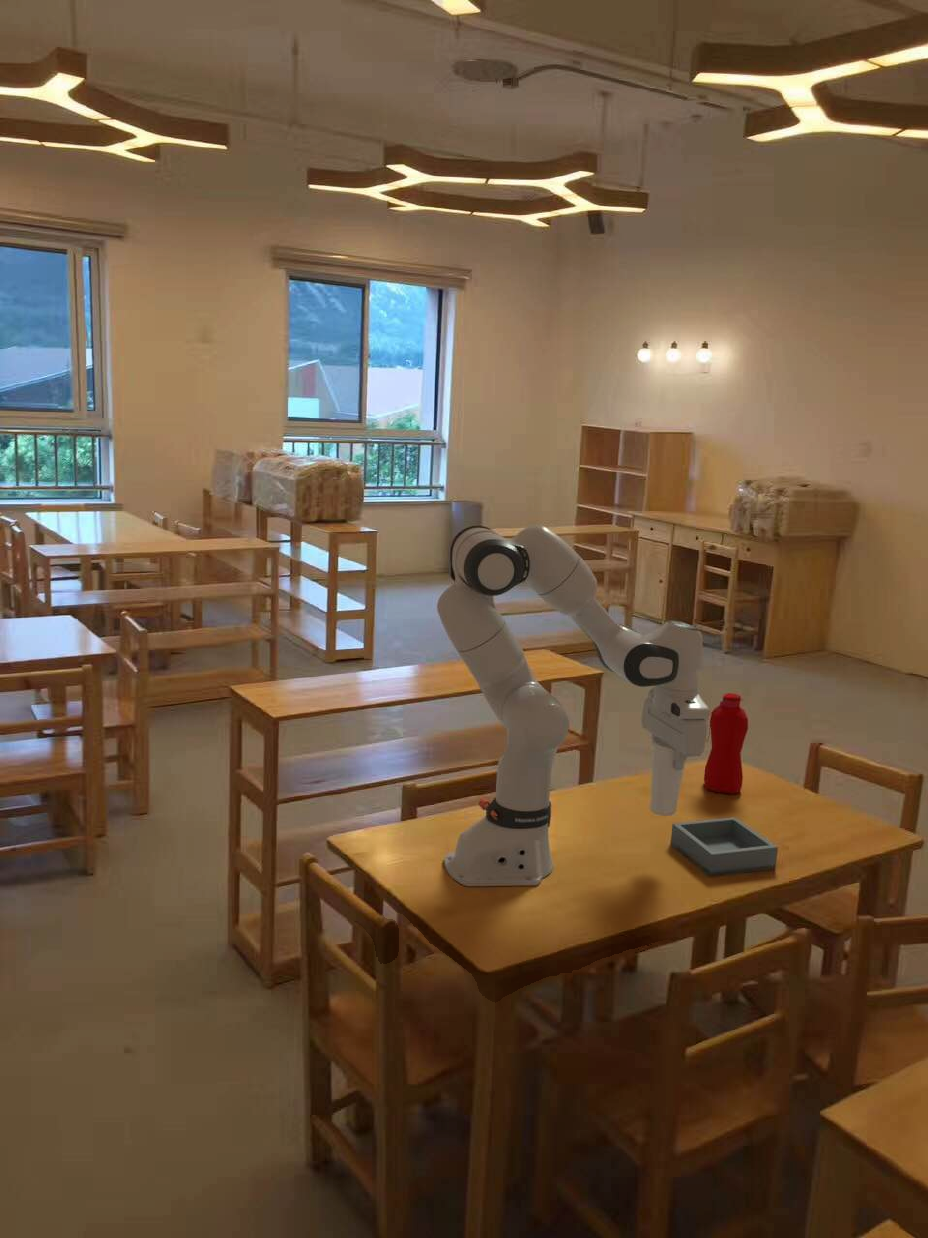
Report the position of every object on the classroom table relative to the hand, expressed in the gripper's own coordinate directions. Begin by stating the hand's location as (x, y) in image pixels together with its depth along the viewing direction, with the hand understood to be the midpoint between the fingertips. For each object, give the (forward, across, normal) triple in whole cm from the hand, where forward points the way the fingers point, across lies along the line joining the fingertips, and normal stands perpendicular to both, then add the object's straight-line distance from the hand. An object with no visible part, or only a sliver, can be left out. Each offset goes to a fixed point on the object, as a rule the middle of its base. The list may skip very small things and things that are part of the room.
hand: (667, 762), depth 211 cm
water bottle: (+21, -34, +37) cm, 54 cm away
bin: (+22, +2, +15) cm, 26 cm away
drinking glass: (+11, 0, 0) cm, 11 cm away
